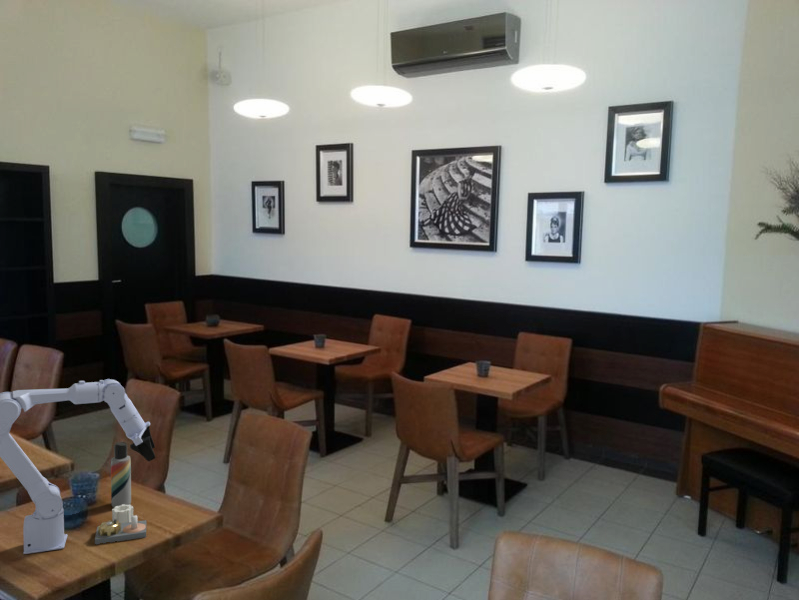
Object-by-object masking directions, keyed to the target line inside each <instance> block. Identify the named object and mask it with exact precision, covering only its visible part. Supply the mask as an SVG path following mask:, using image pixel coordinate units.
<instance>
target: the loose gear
mask: <svg viewBox="0 0 799 600" xmlns="http://www.w3.org/2000/svg"><path fill="white" fill-rule="evenodd" d="M111 511H112V512H111V515H112V516H111V518H112V519H111V520H112V521H114V519H116V520H118V521H119V523H121V524H122V523H129V522H131V517H132V516H134V506H133V505H132V504H131V503H130V504H129V505H125V504H122V505H120V506H116V507H113V508H112V509H111Z"/></svg>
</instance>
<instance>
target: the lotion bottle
mask: <svg viewBox="0 0 799 600" xmlns="http://www.w3.org/2000/svg"><path fill="white" fill-rule="evenodd" d="M113 456H114V457H111V459H110V485H111V486H110V489H111V491H110V493H111V494H110V495H111V496H110V499H111V503H110V504H111V506H112V508H115V507H116V506H120V505H122V504H125V505H129V504H130V505H131V503H132V475H131V474H132V466H131V464H132V463H131V462H132V461H131V460H132V459H131V456H130V455H128V443H126V442H124V441H119V442H115V443H114V445H113Z"/></svg>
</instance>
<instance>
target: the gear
mask: <svg viewBox="0 0 799 600" xmlns="http://www.w3.org/2000/svg"><path fill="white" fill-rule="evenodd" d="M97 527H98V534H100V536H103V535H107V536H111V535H112V534H117V533H118V531H121V523H119V521H118V520H116V519H114V521H112V519H109V520H108V521H106V522H105V521H104V522H101V524H100V525H98V526H97Z"/></svg>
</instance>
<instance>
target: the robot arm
mask: <svg viewBox="0 0 799 600" xmlns="http://www.w3.org/2000/svg"><path fill="white" fill-rule="evenodd" d="M65 401H70V402H71V403H73V404H74V405H82V404H95V403H101V402H103V401H104V403H107V405H108V407H109V409H110V411H111V413H112V414H113V416H114V418H115V419H116V420H117V422H118V424H119V425H120V427H121V429H123V432H124V433H125V436H126V438H128V439H129V440H131V441H132V442H133V443H131V444H130V445H129V446H130V449H131V450H132V451H134V452H136V453H138V454H139V455H141V457H143V458H144V459H145V460H146V461H147V462H151V461H153V460H154V459H156V454H155V452H154V449H155V447H156V446H155V442H154V439H153V437H152V433H151V430H150V426H151V422H150V421H146V422H145V421H144V419H143V418H142V416H141V414H140V413H139V411H138V409H137V408H136V407H135V405H134V404H133V401H132V400H131V399H130V398H129V397H128V394H127V393H126V390H125V388H124V386H122V385H121V382H119V381H117V380H116V379H112V378H111V379H110V378H107V379H104V380H103V379H99V381H94V382H93V381H91V382H86V381H85V380H78V382H77V383H73V384H72V385H71V386H70V387H68V388H67V387H66V388H41V389H40V388H39V389H17V390H12V392H11V391H4V392H0V458H1V460H2V461H3V462H4V463H5V465H6V466H7V467H8V468H9V469H10V471H11V473H12V474H13V475H14V476H15V477H16V478H17V479H18V481H19V482H20V483H21V485H22V486H23V487H24V489H25V490H26V491H27V493H28V495H29V498H30V499H31V501H32V502H33V503H34V505H35V510H34V511H33V512H32V514H30V515H25V517H24V520H23V526H22V527H23V528H22V530H23V555H27V554H35V553H43V552H49V551H55V550H62V549H64V548H65V546H66V541H67V539H68V534H67V533H65V517H64V514H65V513H64V512H65V510H64V507H63V506H64V502H63V499H62V496H61V490H60V488H59V487H58V486H57V485H56V484H53V483H51V482H50V481H49V480H48V479H47V478H46V477H44V476H43V475H42V473H41V472H40V471H39V470H38V468H37V467H36V465H35V464H34V463H33V461H32V460H31V459H30V457H28V455H27V454H26V453H25V452H24V450H23V449H22V447H21V446H20V445H19V444H18V442H17V441H16V440H15V438H14V437H13V436H12V434H11V433H10V432H11V429H12V426H13V424H14V423H15V421H16V420H17V419H18V418H19V416H20V415H21V412H22V409H23V412H24V413H26V412H27V411H29V410H30V409H31V408H33V407H34V406H36V405H40V404H49V403H58V402H65Z"/></svg>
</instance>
